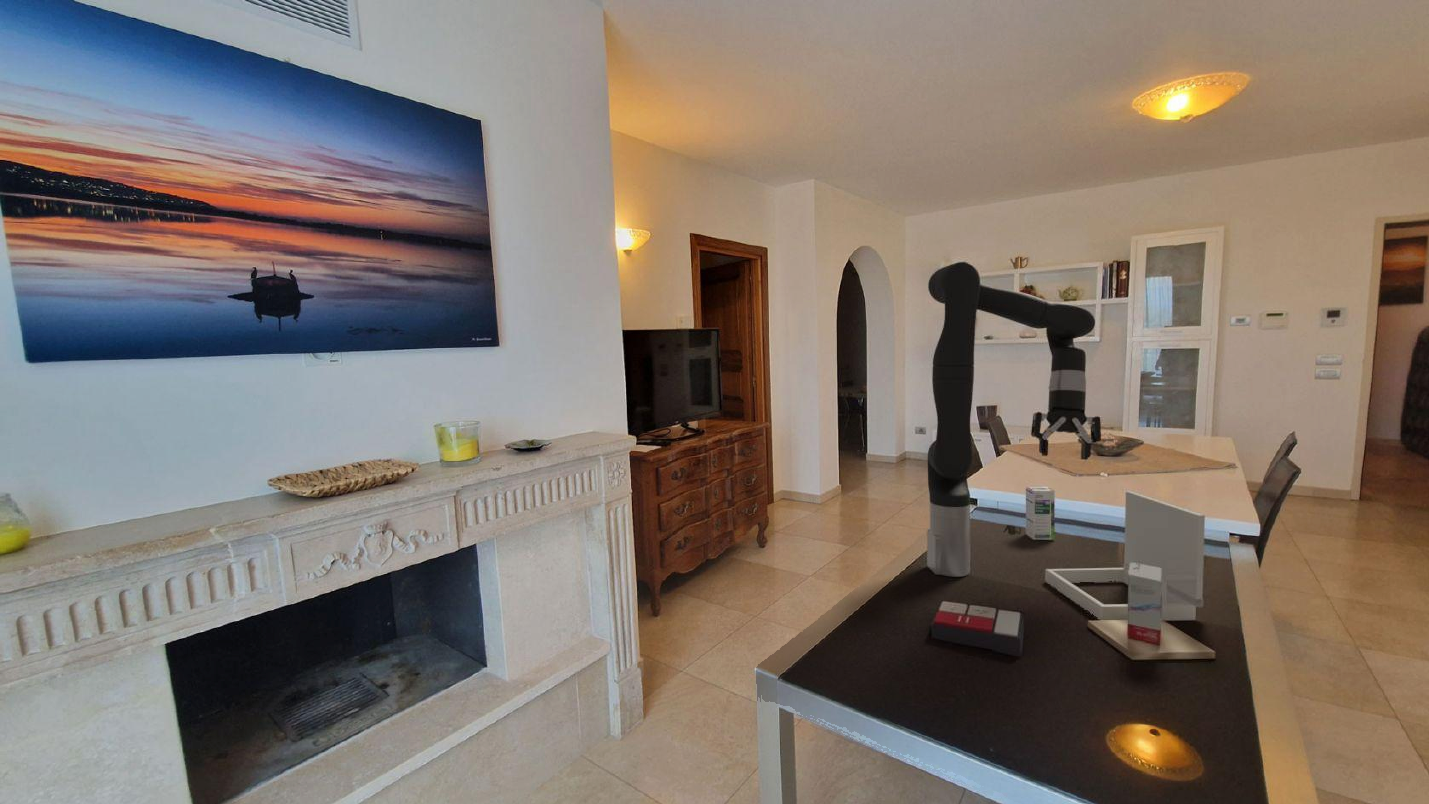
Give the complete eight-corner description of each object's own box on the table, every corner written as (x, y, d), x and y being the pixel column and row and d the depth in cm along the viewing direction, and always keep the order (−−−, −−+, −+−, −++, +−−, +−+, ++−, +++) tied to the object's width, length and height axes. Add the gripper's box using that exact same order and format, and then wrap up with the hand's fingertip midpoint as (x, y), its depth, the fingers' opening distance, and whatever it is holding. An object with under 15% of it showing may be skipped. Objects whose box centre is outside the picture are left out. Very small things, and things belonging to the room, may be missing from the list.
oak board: (1131, 659, 96) (1131, 652, 96) (1087, 626, 108) (1087, 620, 108) (1215, 658, 95) (1215, 651, 95) (1161, 625, 107) (1161, 619, 107)
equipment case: (1101, 621, 110) (1103, 517, 108) (1045, 581, 130) (1046, 493, 128) (1202, 619, 109) (1205, 515, 107) (1130, 580, 129) (1132, 491, 127)
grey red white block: (940, 598, 115) (1023, 609, 107) (941, 619, 115) (1024, 631, 107) (930, 620, 105) (1020, 634, 98) (931, 642, 106) (1021, 658, 98)
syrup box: (1033, 540, 158) (1033, 490, 157) (1025, 533, 164) (1025, 485, 163) (1054, 540, 157) (1055, 490, 156) (1046, 534, 163) (1046, 485, 162)
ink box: (1160, 646, 98) (1162, 581, 97) (1126, 638, 101) (1127, 575, 100) (1161, 627, 104) (1162, 566, 103) (1128, 620, 107) (1130, 561, 106)
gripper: (1040, 386, 132) (1036, 454, 131) (1107, 390, 129) (1105, 460, 127) (1029, 390, 139) (1026, 455, 138) (1093, 395, 136) (1091, 461, 134)
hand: (1064, 457), depth 133 cm, fingers open, 8 cm apart
